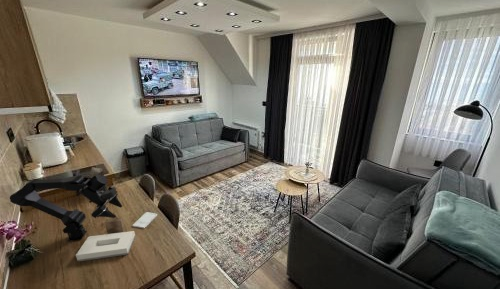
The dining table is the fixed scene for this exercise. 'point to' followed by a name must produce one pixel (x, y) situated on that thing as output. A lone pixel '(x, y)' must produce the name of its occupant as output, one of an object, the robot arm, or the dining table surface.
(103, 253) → the slotted board
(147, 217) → the external hard drive
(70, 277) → the dining table surface
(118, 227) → the walnut plate
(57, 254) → the dining table surface
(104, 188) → the owl
